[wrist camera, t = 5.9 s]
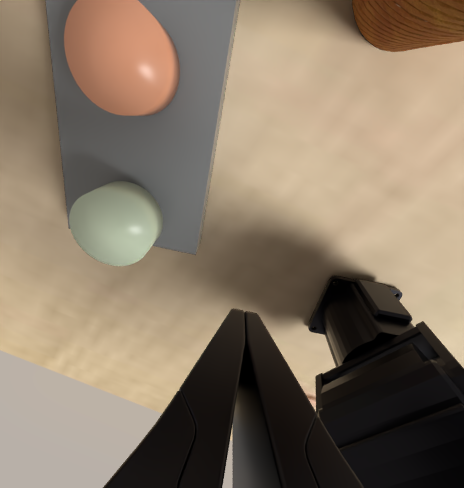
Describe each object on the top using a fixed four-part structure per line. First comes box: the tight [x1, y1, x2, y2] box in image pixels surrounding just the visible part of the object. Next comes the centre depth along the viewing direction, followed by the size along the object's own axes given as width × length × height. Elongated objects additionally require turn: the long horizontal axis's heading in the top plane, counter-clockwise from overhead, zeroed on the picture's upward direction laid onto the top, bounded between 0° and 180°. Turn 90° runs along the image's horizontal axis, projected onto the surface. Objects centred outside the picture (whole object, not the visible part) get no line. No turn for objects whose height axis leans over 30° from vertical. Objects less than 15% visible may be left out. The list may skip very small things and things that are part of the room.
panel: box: [45, 0, 240, 255], centre depth 15 cm, size 23×10×2 cm, turn 168°
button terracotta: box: [64, 0, 180, 116], centre depth 13 cm, size 5×5×2 cm
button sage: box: [69, 181, 163, 266], centre depth 17 cm, size 5×5×2 cm
